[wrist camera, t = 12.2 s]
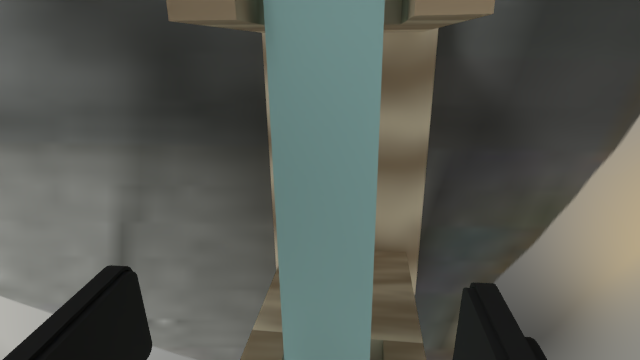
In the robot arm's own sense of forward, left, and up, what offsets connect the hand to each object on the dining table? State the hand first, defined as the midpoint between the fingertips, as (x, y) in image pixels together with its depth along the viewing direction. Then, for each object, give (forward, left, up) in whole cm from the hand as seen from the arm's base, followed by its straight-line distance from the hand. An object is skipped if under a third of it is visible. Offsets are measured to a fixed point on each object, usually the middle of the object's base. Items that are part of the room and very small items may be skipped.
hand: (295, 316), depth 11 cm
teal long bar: (0, 0, -10) cm, 10 cm away
